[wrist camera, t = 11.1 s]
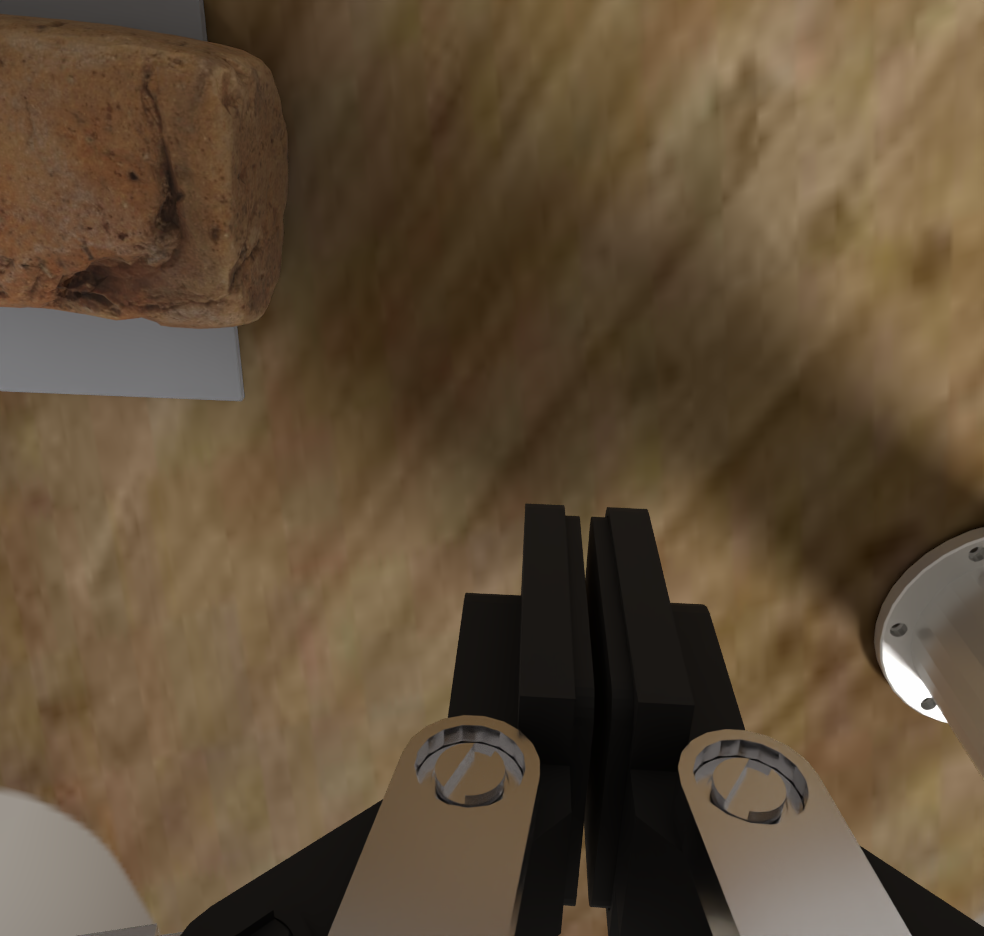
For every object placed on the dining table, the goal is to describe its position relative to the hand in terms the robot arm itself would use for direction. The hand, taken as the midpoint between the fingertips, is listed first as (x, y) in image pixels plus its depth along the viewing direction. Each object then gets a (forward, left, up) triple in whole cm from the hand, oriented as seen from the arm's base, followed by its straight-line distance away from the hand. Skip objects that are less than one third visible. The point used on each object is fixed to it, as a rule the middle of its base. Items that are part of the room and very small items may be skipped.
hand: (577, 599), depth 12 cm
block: (+11, -1, -24) cm, 26 cm away
